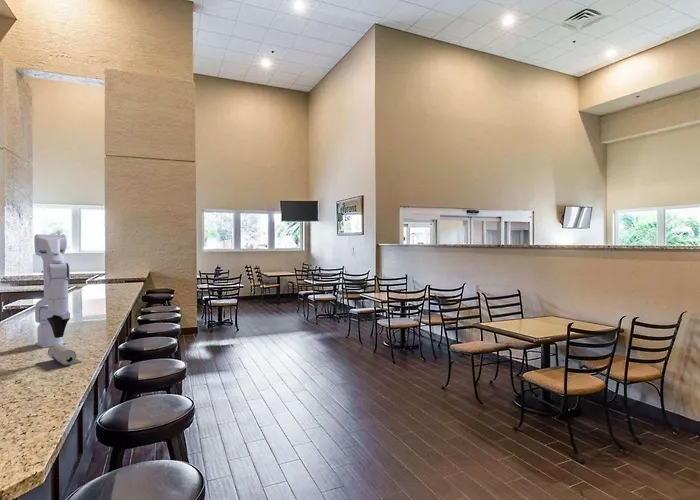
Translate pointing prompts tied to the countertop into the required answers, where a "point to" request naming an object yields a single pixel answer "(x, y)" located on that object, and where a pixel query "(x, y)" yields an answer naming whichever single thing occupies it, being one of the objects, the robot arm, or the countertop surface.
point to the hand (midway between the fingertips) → (58, 337)
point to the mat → (54, 364)
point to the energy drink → (62, 354)
